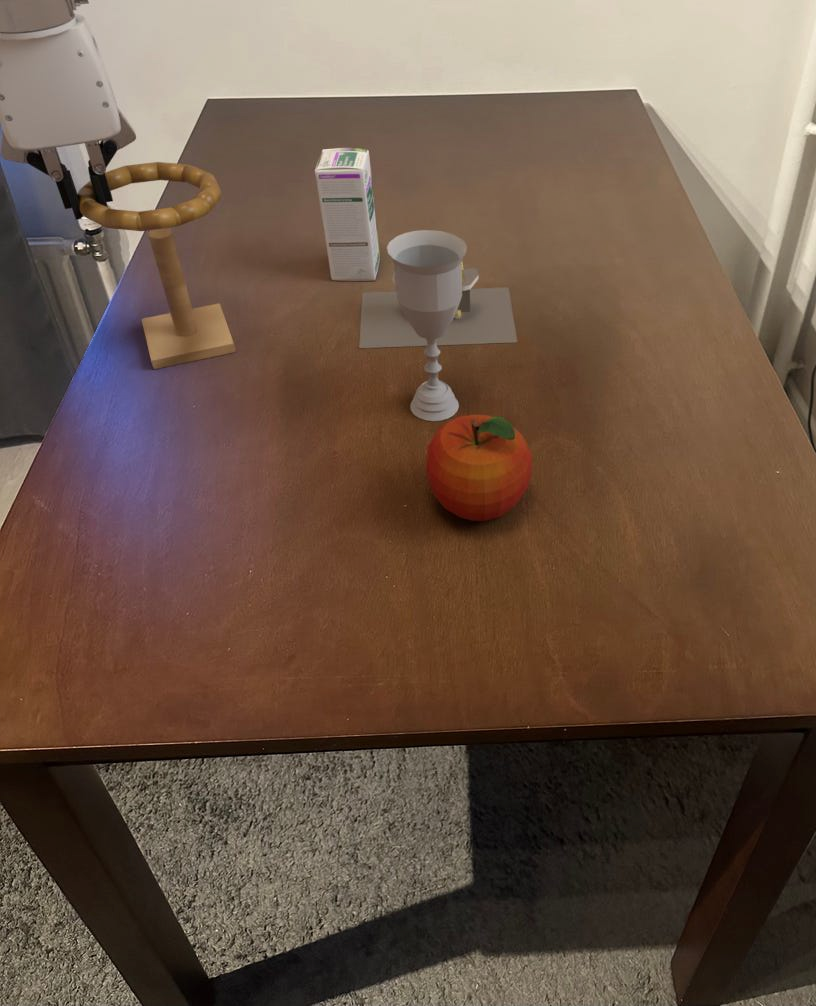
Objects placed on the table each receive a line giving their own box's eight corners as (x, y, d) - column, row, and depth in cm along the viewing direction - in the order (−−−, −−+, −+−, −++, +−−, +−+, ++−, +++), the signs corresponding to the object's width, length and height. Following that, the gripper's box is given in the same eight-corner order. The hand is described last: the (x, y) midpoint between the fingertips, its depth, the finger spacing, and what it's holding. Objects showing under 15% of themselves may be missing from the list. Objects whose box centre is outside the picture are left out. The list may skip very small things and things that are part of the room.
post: (153, 369, 98) (119, 260, 88) (144, 327, 104) (111, 221, 94) (235, 352, 100) (210, 244, 91) (221, 311, 106) (197, 206, 97)
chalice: (478, 394, 94) (477, 237, 82) (456, 432, 90) (451, 273, 77) (414, 380, 96) (404, 225, 84) (389, 418, 92) (374, 259, 79)
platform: (517, 342, 101) (519, 291, 97) (359, 348, 101) (353, 297, 96) (508, 287, 110) (509, 238, 105) (362, 292, 109) (357, 243, 105)
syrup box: (376, 281, 111) (365, 167, 101) (329, 281, 111) (313, 167, 101) (380, 259, 115) (370, 147, 105) (335, 258, 115) (320, 147, 105)
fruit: (461, 454, 87) (459, 371, 80) (547, 488, 84) (553, 404, 77) (407, 514, 82) (400, 429, 75) (497, 552, 78) (499, 468, 71)
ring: (86, 242, 84) (81, 224, 83) (77, 186, 93) (72, 168, 92) (231, 222, 88) (229, 204, 87) (209, 170, 97) (206, 153, 96)
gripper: (116, -14, 81) (167, 182, 93) (-75, 6, 76) (6, 209, 89) (125, 9, 76) (177, 213, 88) (-79, 32, 71) (7, 243, 84)
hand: (91, 210), depth 89 cm, fingers closed on ring, 1 cm apart
